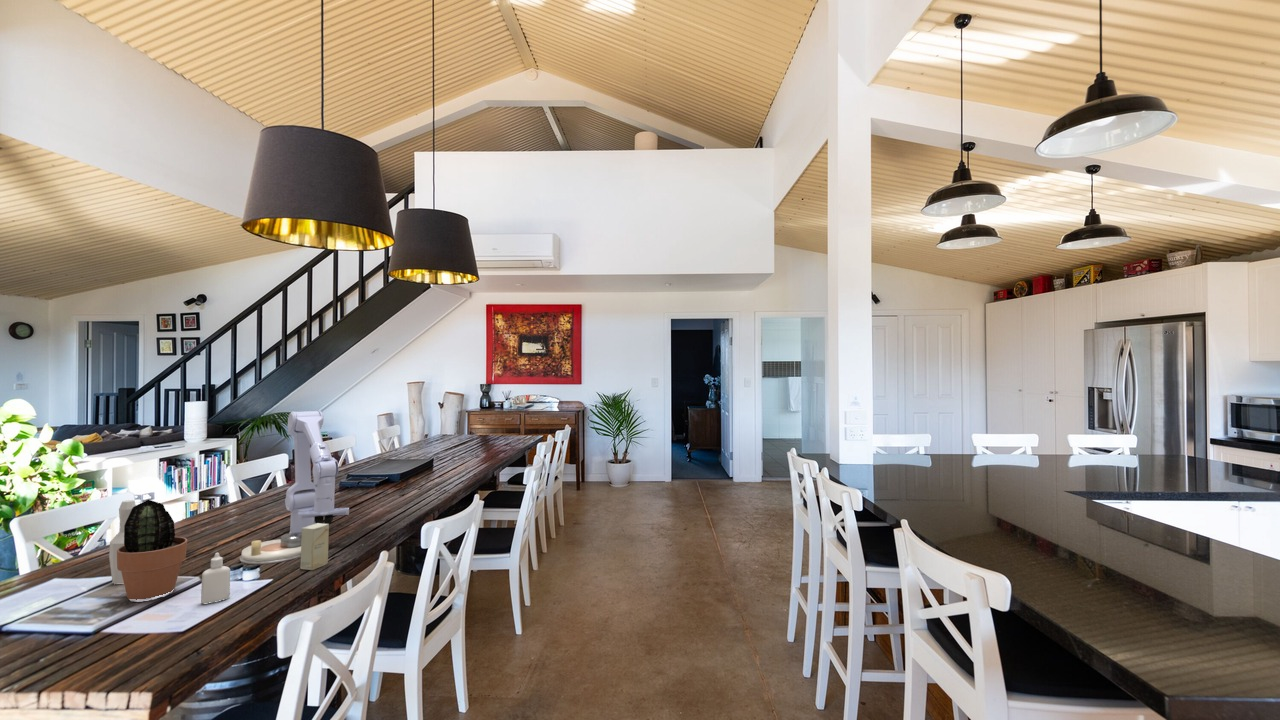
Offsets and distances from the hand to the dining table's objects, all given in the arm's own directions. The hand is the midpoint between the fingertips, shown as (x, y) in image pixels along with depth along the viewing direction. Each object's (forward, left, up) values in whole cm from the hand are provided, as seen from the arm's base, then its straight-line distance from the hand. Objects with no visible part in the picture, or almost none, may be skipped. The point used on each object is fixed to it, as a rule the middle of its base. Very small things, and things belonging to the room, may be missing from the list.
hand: (323, 538), depth 180 cm
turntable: (0, -13, -3) cm, 13 cm away
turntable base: (0, -13, -3) cm, 13 cm away
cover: (0, -8, -1) cm, 8 cm away
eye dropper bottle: (+35, -23, -3) cm, 42 cm away
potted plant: (+24, -38, -3) cm, 45 cm away
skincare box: (+18, -2, -3) cm, 18 cm away
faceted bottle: (+9, -47, -3) cm, 48 cm away
